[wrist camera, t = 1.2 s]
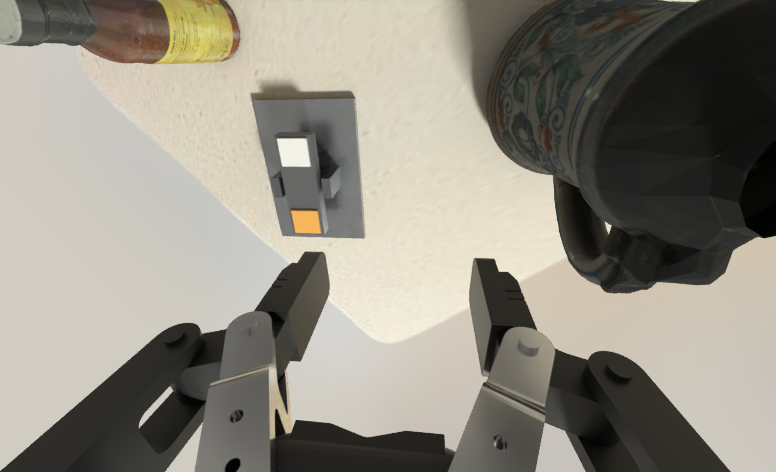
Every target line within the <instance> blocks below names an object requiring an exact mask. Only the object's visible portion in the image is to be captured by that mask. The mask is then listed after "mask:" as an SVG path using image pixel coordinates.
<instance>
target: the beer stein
mask: <svg viewBox="0 0 776 472" xmlns="http://www.w3.org/2000/svg"><path fill="white" fill-rule="evenodd" d="M487 117H488V123H489V127H490V130H491V133H492V136H493V138H494V140H495V142H496V143H497V145H498V146H499V148H500V149H501V150H502V152H503V153H504V154H505V155H506V156H507V157H508V158H509V159H511V160H512V161H513V162H515V163H516V164H518V165H519V166H521V167H523V168H525V169H528V170H530V171H533V172H536V173H541V174H547V175H553V183H554V200H555V208H556V215H557V221H558V226H559V233H560V236H561V240H562V243H563V246H564V249H565V252H566V254H567V257H568V260H569V262H570V264H571V265H572V266H573V267H574V269H575V270H576V271H577V272H578V273H579V274H580V275H581V276H582V277H584V278H585V279H587V280H588V281H590V282H592V283H594V284H597V285H600V286H601V288H602V289H603V290H604V291H605V292H607V293H632V292H635V291H639V290H642V289H643V290H647V289H649V288H651V287H652V286H653V285H654V284H656V283H657V282H667V283H679V284H690V285H708V284H711V283H712V282H714V281H715V280H716V279H718V278H719V277H720V276H721V275H723V274H724V273H725V271H726V269H727V266H728V263H729V260H730V258H731V255H732V252H733V250H734V249H736V248H738V247H739V246H741V245H743V244H745V243H747V242H749V241H750V240H752V239H754V238H756V237H761V238H768V237H773V236H776V0H699V1H697V2H668V1H662V0H554V1H552V2H551V3H549V4H547V5H546V6H544V7H542V8H541V9H540V10H539V11H537V12H536V13H535V14H534V15H532V16H531V17H530V18H529V19H528V20H527V21H526V22H525V23H524V24H523V25H522V26H521V27H520V28H519V29H518V31H517V32H516V33H515V34H514V35H513V37H512V38H511V39H510V40H509V42H508V43H507V45H506V47H505V48H504V50H503V51H502V53H501V55H500V57H499V59H498V61H497V63H496V65H495V67H494V70H493V73H492V76H491V79H490V83H489V87H488V93H487ZM605 222H607V223H608V224H610V225H612V226H611V230H610V233H609V234H608V232H607V229H606V225H605Z"/></svg>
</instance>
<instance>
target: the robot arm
mask: <svg viewBox="0 0 776 472" xmlns="http://www.w3.org/2000/svg"><path fill="white" fill-rule="evenodd" d="M329 288H330V283H329V276H328V270H327V263H326V257H325V254H324V253H323V252H304V254H303V255H302V257H301V258H300V260H299V261H298V263H291V264H290V265H289V266H287V267H286V268H285V269H283V270H282V271H281V273H280V274H279V276H278V277H277V279H276V280H275V281H274V283H273V284H272V287H270V289H269V290H268V292H267V293H266V295H265V296H264V297H263V299H262V300H261V302H260V303H259V305H258V306H257V307H256V309H255V310H254V312H249V313H245V314H243V315H241V316H239V317H237V318H236V319H235V320H233V321H232V322H231V323H230V324H229V326H228V328H227V329H225V330H220V331H215V332H209V333H204V334H202V333H201V330H200V328H199V327H198V325H196V324H193V323H182V324H178V325H175V326H172V327H170V328H168V329H166V330H164V331H163V332H161V333H160V334H159V335H157V336H156V337H155V338H154V339H153V340H152V341H150V342H149V343H148V344H147V345H146V346H145V347H143V349H141V350H140V351H139V352H138V353H137V354H135V355H134V356H133V357H132V358H131V359H130V360H128V361H127V362H126V363H125V364H124V365H123V366H122V367H121V368H119V369H118V370H117V371H116V372H115V373H114V374H112V375H111V376H110V377H109V378H108V379H106V380H105V381H104V382H103V383H102V384H101V385H100V386H98V387H97V388H96V389H95V390H94V391H93V392H91V393H90V394H89V395H88V396H87V397H86V398H84V399H83V400H82V401H81V402H80V403H79V404H77V405H76V406H75V407H74V408H73V409H72V410H71V411H70V412H68V413H67V414H66V415H65V416H64V417H62V418H61V419H60V420H59V421H58V422H57V423H55V424H54V425H53V426H52V427H51V428H50V429H49V430H47V431H46V432H45V433H44V434H43V435H42V436H40V437H39V438H38V439H37V440H36V441H35V442H33V443H32V444H31V445H30V446H29V447H28V448H27V449H25V450H24V451H23V452H22V453H21V454H20V455H18V456H17V457H16V458H15V459H14V460H13V461H11V462H10V463H9V464H8V465H7V466H6V467H5V468H3V469H2V470H1V471H0V472H165V471H166V469H167V468H168V467H169V465H170V464H171V463H172V462H173V460H174V459H175V458H176V456H177V455H178V454H179V452H180V451H181V450H182V448H183V447H184V446H185V444H186V443H187V442H188V440H189V439H190V438H191V437H192V435H193V433H194V432H195V431H196V430H197V429H198V427H199V426H200V425H201V423H202V422H203V425H202V431H201V437H200V443H199V449H198V454H197V460H196V466H195V472H535V470H536V464H537V459H538V454H539V448H540V443H541V438H542V433H543V427H544V422H545V423H547V424H550V425H552V426H555V427H557V428H560V429H562V430H565V431H566V433H567V435H568V437H569V439H570V441H571V443H572V445H573V447H574V449H575V451H576V453H577V455H578V457H579V459H580V461H581V463H582V465H583V467H584V469H585V471H586V472H730V470H729V469H728V468H727V467H726V466H725V465H724V463H723V462H722V461H721V460H720V459H719V458H718V456H717V455H716V454H715V453H714V452H713V451H712V450H711V448H710V447H709V446H708V445H707V444H706V443H705V441H704V440H703V439H702V438H701V437H700V435H699V434H698V433H697V432H696V431H695V430H694V428H693V427H692V426H691V425H690V424H689V423H688V422H687V420H686V419H685V418H684V417H683V416H682V414H681V413H680V412H679V411H678V410H677V409H676V408H675V407H674V405H673V404H672V403H671V402H670V401H669V399H668V398H667V397H666V396H665V395H664V394H663V392H662V391H661V390H660V389H659V388H658V387H657V385H656V384H655V383H654V382H653V381H652V380H651V378H650V377H649V376H648V375H647V374H646V373H645V371H644V370H643V369H642V368H641V367H640V366H638V365H637V364H636V363H634V362H633V361H632V360H630V359H628V358H626V357H624V356H622V355H620V354H617V353H614V352H609V351H598V352H595V353H593V354H592V355H591V356H590V357H589V359H588V360H586V359H583V358H579V357H576V356H573V355H570V354H567V353H564V352H561V351H559V350H557V349H555V348H554V346H553V344H552V342H551V341H550V340H549V339H548V338H547V337H546V336H545V335H543V334H542V333H540V332H539V331H537V328H536V326H535V323H534V321H533V318H532V316H531V313H530V311H529V308H528V306H527V304H526V301H525V300H524V296H523V294H522V293H521V289H520V286H519V284H518V281H517V280H516V279H515V278H514V277H513V276H512V275H511V274H510V273H509V272H499V271H498V268H497V265H496V262H495V260H494V259H487V258H474V260H473V267H472V274H471V282H470V291H469V302H470V309H471V315H472V321H473V326H474V332H475V338H476V344H477V349H478V355H479V361H480V367H481V373H482V376H486V377H488V379H487V381H486V383H485V382H484V383H483V385H482V387H481V390H480V393H479V395H478V397H477V400H476V402H475V405H474V407H473V410H472V412H471V415H470V417H469V420H468V422H467V425H466V427H465V431H464V433H463V435H462V438H461V440H460V443H459V445H458V448H457V450H456V452H454V451H453V450H450V449H448V448H445V440H444V435H443V434H433V433H423V432H413V431H403V432H397V433H391V434H386V435H380V436H375V437H363V436H361V435H358V434H356V433H353V432H351V431H348V430H345V429H343V428H341V427H338V426H336V425H334V424H331V423H322V422H312V421H302V420H296V421H295V424H294V427H293V429H292V425H291V415H290V402H289V389H288V377H287V371H286V368H287V366H288V364H289V362H290V361H301V360H302V357H303V355H304V352H305V350H306V348H307V345H308V343H309V341H310V338H311V336H312V334H313V331H314V329H315V326H316V324H317V322H318V319H319V317H320V315H321V312H322V309H323V307H324V305H325V303H326V300H327V298H328V295H329ZM169 386H171V388H172V390H173V392H172V393H171V394H170V395H169V397H168V398H167V399H166V400H165V401H164V402H163V403H162V404H161V405H160V406H159V407H158V409H157V410H156V411H155V412H154V413H153V414H152V415H151V416H150V417H149V418H148V420H147V421H146V422H145V423H144V424H143V425H142V426H141V427H140V428H139V422H140V420H141V418H142V416H143V414H144V413H145V412H146V411H147V410H148V408H149V407H150V406H151V405H152V404H153V403H154V402H155V401H156V400H157V399H158V398H159V397H160V396H161V395H162V394H163V393H164V392H165V390H166V389H167V388H168V387H169Z"/></svg>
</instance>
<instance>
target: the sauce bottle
mask: <svg viewBox="0 0 776 472" xmlns="http://www.w3.org/2000/svg"><path fill="white" fill-rule="evenodd" d="M239 42H240V30H239V27H238V23H237V20H236V18H235V16H234V14H233V12H232V11H231V10H230V8H229V7H228V6H227V5H226V4H225V3H224V2H223V1H221V0H0V44H4V45H14V46H35V45H39V44H41V43H64V44H67V45H71V46H77V45H81V46H82V47H84V48H85V49H87V50H88V51H90V52H92V53H93V54H95V55H98V56H100V57H102V58H104V59H107V60H110V61H114V62H118V63H145V64H176V63H213V62H219V61H225V60H227V59H229V58H231V57H232V56H233V54H234V53H235V52H236V51H237V49H238V46H239Z"/></svg>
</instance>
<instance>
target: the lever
mask: <svg viewBox="0 0 776 472" xmlns="http://www.w3.org/2000/svg"><path fill="white" fill-rule="evenodd" d="M274 139H275V144H276V149H277V154H278V159H279V164H280V169H281V173H282V178H283V183H284V188H285V193H286V198H287V203H288V208H289V213H290V218H291V223H292V228H293V233H294V234H319V235H325V233H326V231H327V230H328V223H327V216H326V209H325V202H324V197H323V189H322V182H321V173H320V166H319V159H318V151H317V144H316V137H315V132H279V133H277V134H275V135H274Z"/></svg>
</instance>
